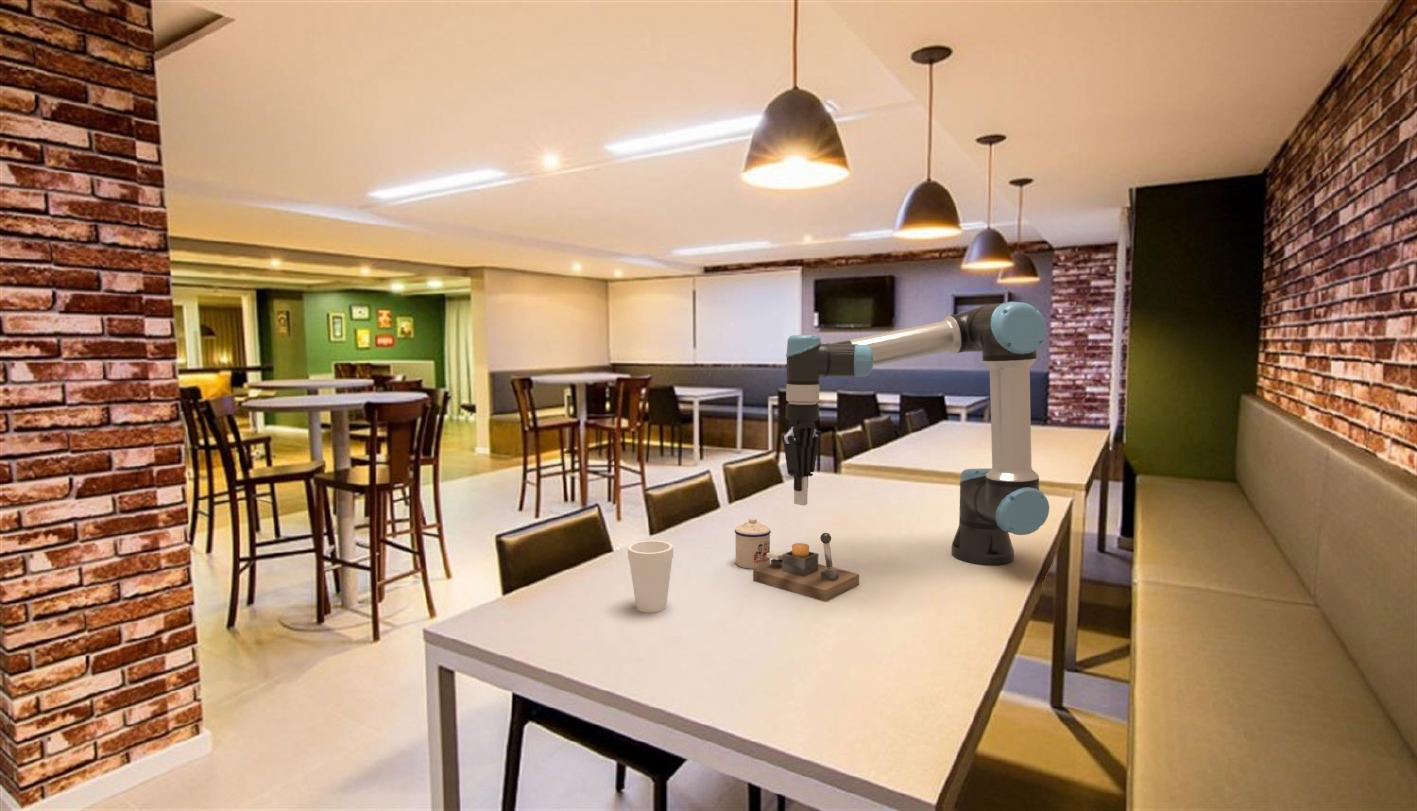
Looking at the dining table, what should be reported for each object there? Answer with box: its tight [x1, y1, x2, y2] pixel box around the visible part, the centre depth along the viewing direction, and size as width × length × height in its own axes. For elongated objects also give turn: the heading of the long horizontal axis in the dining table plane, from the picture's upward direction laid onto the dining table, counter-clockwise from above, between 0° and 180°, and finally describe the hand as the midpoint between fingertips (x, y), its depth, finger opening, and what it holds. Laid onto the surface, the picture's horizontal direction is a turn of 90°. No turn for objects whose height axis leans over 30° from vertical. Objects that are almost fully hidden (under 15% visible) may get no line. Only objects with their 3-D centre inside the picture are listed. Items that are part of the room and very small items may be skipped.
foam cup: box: [627, 540, 674, 614], centre depth 145 cm, size 10×9×13 cm
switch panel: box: [752, 550, 860, 603], centre depth 160 cm, size 20×14×6 cm
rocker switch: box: [766, 551, 787, 560], centre depth 165 cm, size 3×6×1 cm, turn 138°
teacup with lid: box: [734, 517, 772, 570], centre depth 175 cm, size 12×9×12 cm
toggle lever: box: [819, 532, 833, 569], centre depth 154 cm, size 2×2×9 cm
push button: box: [791, 542, 810, 558], centre depth 161 cm, size 4×4×3 cm
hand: (800, 504), depth 160 cm, fingers closed
